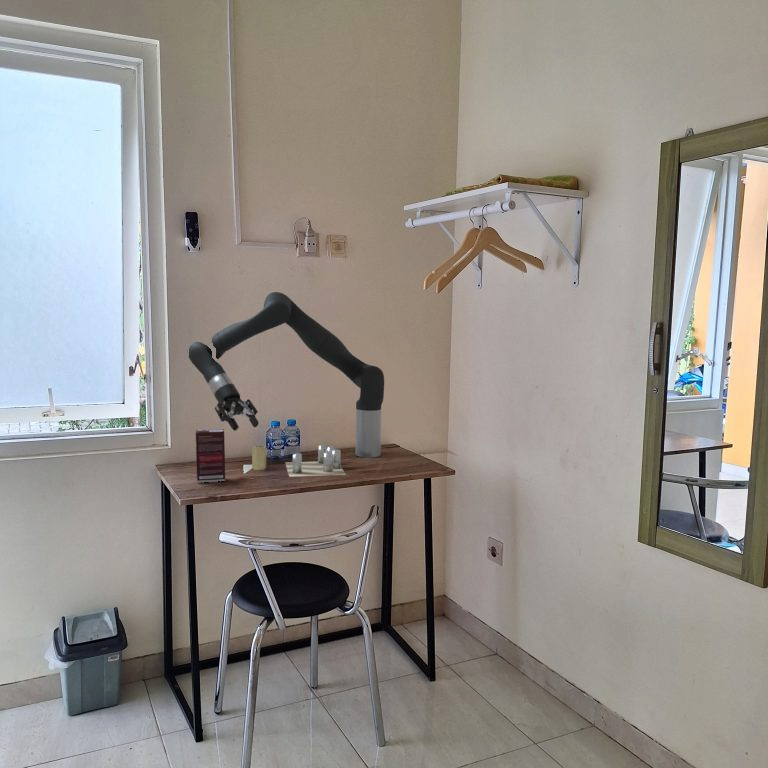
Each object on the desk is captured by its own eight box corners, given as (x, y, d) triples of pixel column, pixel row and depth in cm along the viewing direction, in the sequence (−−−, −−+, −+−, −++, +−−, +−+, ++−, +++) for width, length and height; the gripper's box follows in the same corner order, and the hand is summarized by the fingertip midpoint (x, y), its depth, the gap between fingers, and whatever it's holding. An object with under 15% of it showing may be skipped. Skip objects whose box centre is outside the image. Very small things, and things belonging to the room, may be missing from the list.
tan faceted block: (255, 468, 231) (255, 444, 230) (267, 469, 231) (267, 445, 230) (251, 471, 227) (250, 447, 226) (262, 472, 226) (262, 447, 225)
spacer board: (285, 465, 238) (285, 462, 238) (337, 463, 242) (337, 460, 242) (289, 479, 219) (289, 476, 219) (346, 477, 222) (346, 474, 222)
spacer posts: (289, 462, 238) (289, 445, 237) (336, 461, 241) (336, 444, 241) (292, 473, 222) (292, 455, 222) (343, 472, 226) (343, 454, 225)
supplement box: (224, 478, 219) (224, 428, 218) (225, 482, 215) (224, 431, 213) (196, 479, 217) (195, 429, 215) (196, 483, 212) (195, 432, 211)
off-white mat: (243, 465, 236) (243, 464, 236) (273, 465, 238) (273, 463, 238) (243, 478, 219) (243, 477, 219) (275, 477, 221) (275, 476, 221)
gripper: (211, 384, 229) (235, 423, 223) (245, 381, 240) (268, 417, 234) (201, 399, 232) (224, 437, 227) (235, 395, 244) (257, 431, 238)
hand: (246, 427), depth 230 cm, fingers open, 8 cm apart
